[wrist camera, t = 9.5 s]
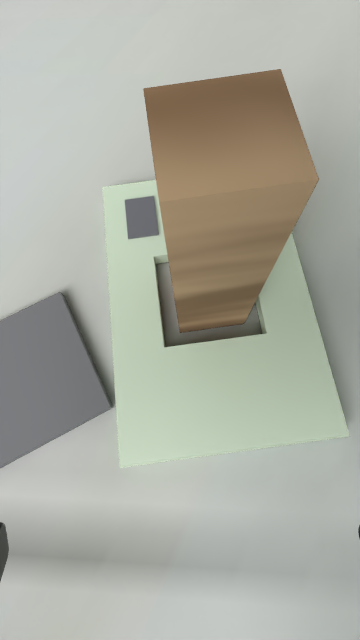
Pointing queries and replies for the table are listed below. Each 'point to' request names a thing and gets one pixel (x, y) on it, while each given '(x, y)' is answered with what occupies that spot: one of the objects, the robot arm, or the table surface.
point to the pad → (44, 378)
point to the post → (226, 189)
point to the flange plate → (209, 355)
